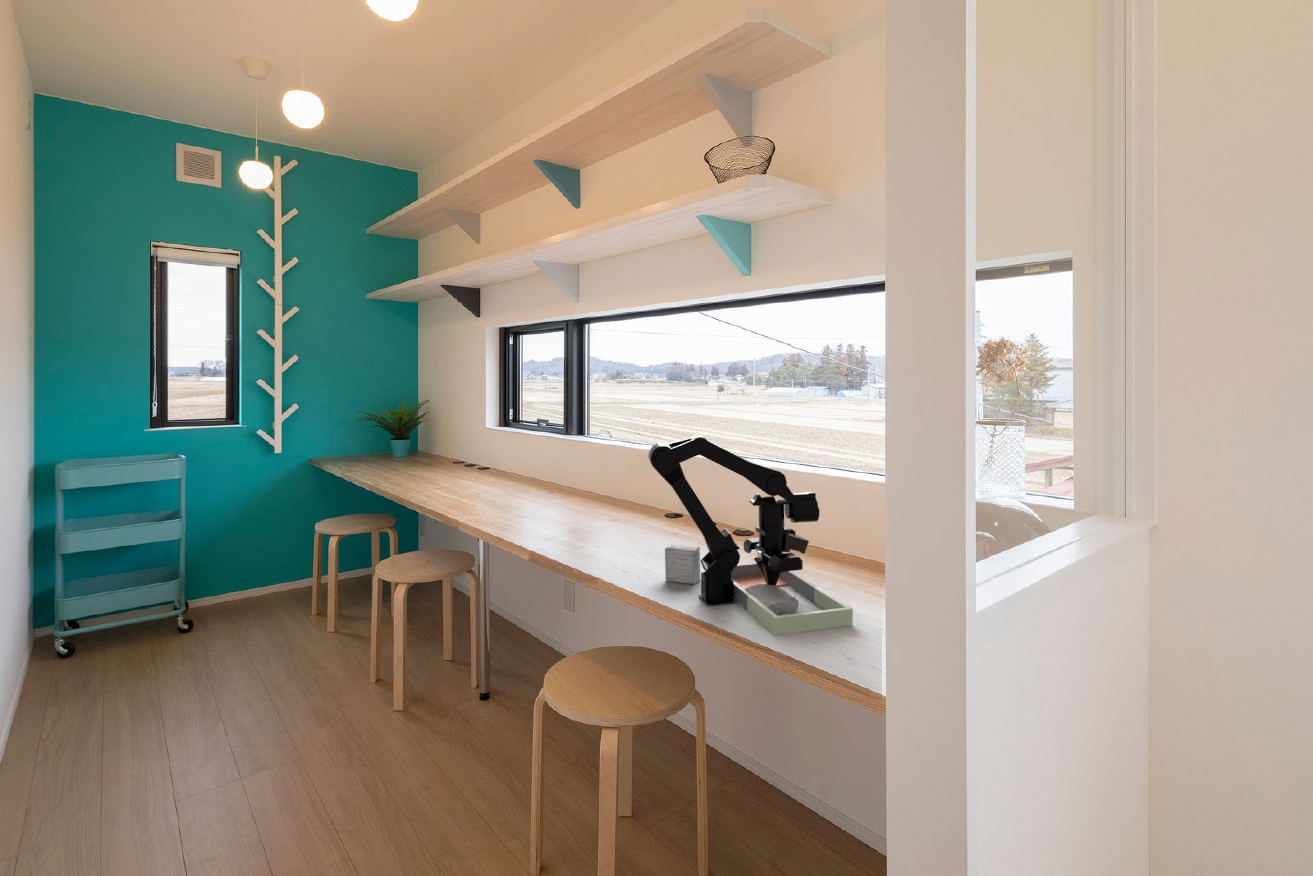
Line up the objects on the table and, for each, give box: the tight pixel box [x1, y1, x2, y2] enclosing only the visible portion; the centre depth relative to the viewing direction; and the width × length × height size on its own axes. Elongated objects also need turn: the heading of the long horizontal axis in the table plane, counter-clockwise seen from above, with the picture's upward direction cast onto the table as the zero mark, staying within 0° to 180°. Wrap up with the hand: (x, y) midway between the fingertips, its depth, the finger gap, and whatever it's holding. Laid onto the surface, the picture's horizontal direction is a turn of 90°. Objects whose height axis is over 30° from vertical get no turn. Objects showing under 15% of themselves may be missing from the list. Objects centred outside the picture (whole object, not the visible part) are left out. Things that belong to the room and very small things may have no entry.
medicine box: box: [664, 543, 701, 585], centre depth 164 cm, size 8×4×9 cm, turn 68°
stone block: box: [745, 584, 799, 616], centre depth 143 cm, size 12×5×10 cm
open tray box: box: [731, 562, 854, 636], centre depth 148 cm, size 17×36×4 cm, turn 15°
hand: (771, 590), depth 150 cm, fingers closed
